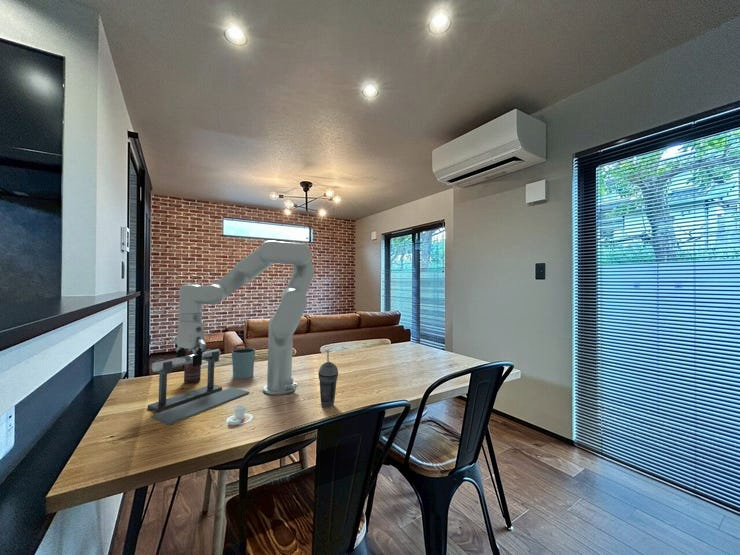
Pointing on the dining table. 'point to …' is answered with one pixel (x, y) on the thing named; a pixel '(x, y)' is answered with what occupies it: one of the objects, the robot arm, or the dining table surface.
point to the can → (191, 371)
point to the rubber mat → (198, 405)
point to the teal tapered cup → (243, 363)
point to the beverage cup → (328, 383)
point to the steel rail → (182, 360)
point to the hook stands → (188, 396)
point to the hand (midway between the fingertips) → (188, 363)
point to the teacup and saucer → (239, 416)
